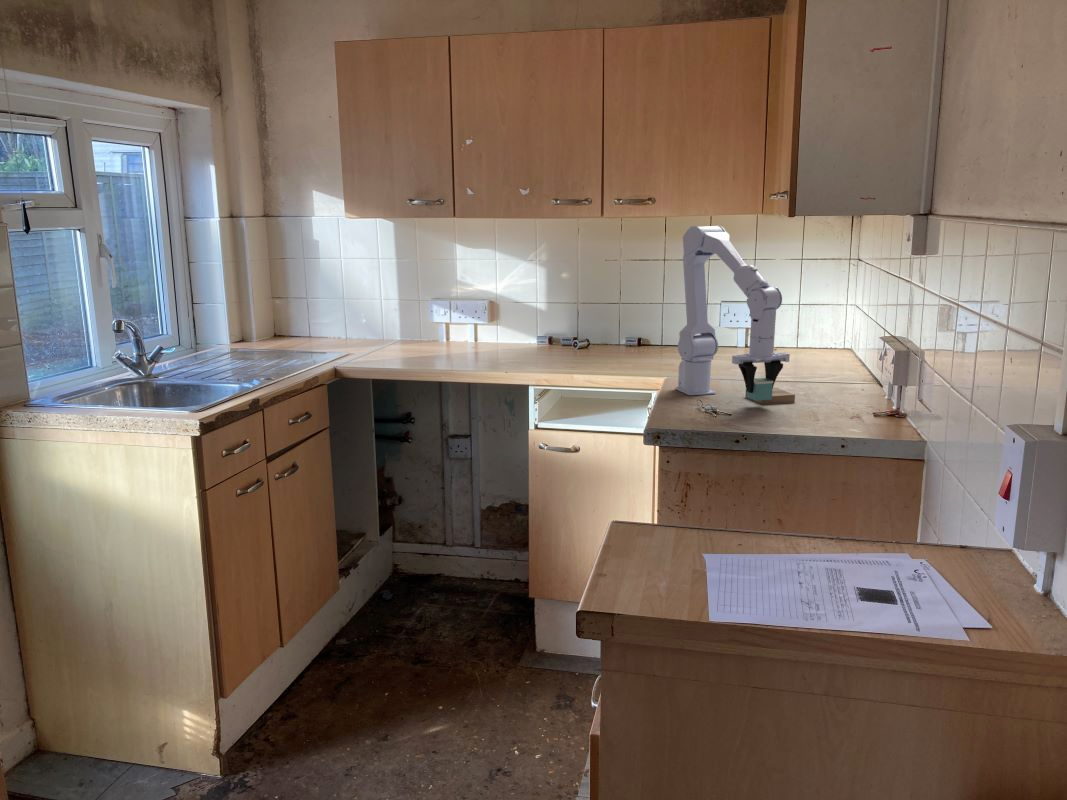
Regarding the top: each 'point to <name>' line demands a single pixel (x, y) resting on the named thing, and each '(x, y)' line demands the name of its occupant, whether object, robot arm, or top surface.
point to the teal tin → (761, 389)
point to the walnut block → (778, 397)
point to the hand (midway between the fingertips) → (759, 391)
